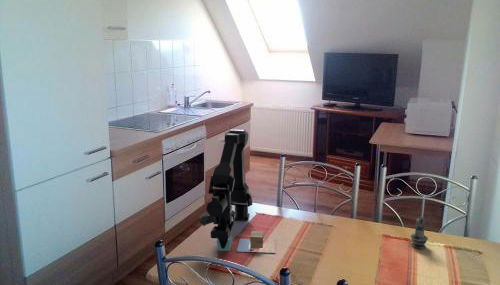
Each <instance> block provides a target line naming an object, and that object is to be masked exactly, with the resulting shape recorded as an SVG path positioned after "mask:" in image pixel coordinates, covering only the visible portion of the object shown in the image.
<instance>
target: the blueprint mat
mask: <svg viewBox="0 0 500 285" xmlns="http://www.w3.org/2000/svg"><path fill="white" fill-rule="evenodd" d="M252 249H253V250H254V249H259V248H250V238H239V242H238V245H237V247H236V253H244V252H251V251H253V250H252Z"/></svg>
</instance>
